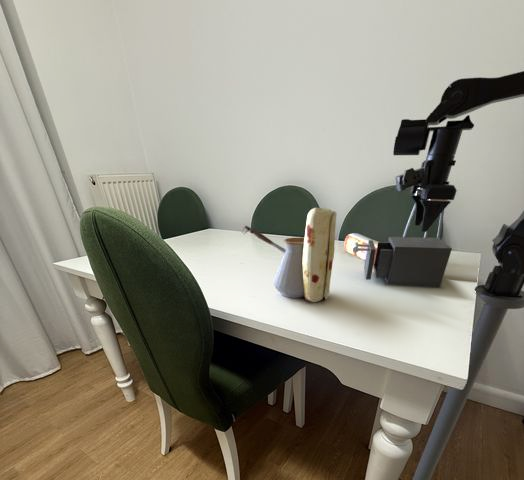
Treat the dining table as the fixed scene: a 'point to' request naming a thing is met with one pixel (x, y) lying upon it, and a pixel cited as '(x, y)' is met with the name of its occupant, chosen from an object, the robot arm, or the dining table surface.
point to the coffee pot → (287, 266)
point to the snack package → (360, 240)
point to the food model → (318, 253)
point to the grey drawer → (376, 258)
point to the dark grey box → (418, 261)
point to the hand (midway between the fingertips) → (420, 228)
